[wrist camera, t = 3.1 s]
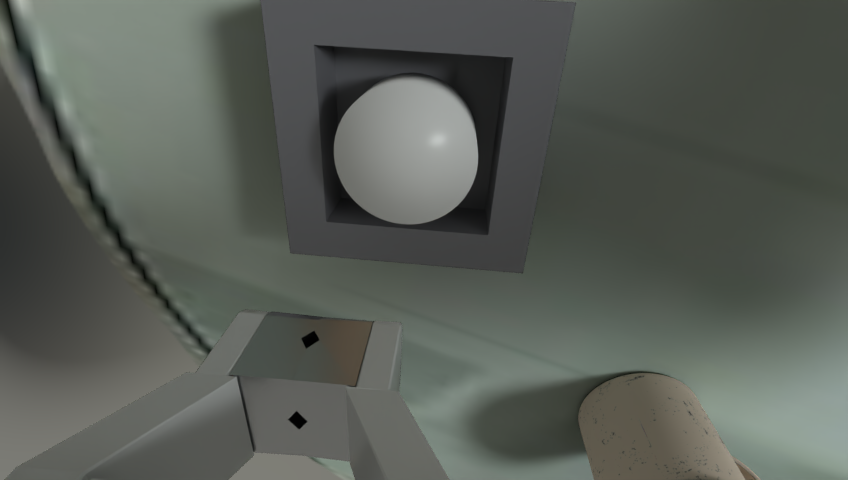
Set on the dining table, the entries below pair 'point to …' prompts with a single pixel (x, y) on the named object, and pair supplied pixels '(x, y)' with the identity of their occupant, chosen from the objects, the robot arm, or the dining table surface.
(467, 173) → the push dome
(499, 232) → the dome housing
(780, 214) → the dining table surface
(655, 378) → the teacup with lid
